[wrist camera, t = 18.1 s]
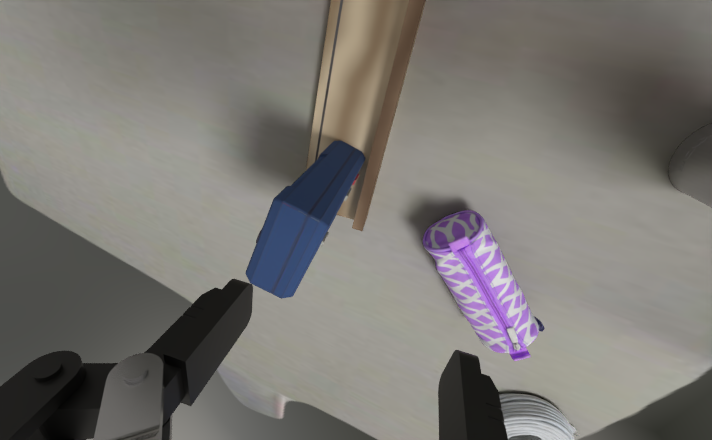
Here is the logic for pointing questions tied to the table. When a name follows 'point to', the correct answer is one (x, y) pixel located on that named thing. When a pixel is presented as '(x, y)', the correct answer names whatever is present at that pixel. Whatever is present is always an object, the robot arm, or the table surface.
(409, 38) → the guide board
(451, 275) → the pencil case
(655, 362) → the table surface
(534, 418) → the cable
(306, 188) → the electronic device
